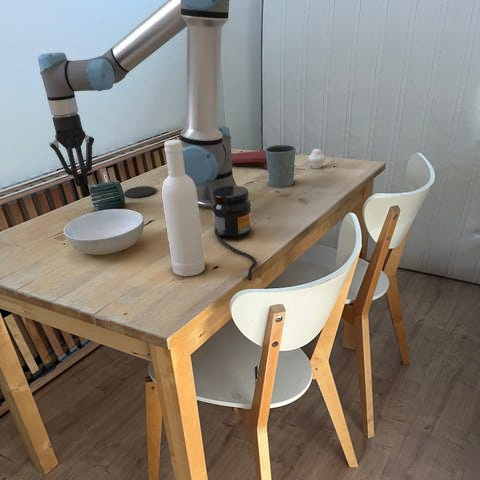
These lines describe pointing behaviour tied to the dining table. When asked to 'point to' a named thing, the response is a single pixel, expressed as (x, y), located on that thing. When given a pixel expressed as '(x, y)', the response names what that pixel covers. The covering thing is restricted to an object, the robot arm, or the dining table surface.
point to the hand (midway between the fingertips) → (84, 195)
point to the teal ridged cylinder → (104, 189)
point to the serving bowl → (104, 231)
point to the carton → (250, 157)
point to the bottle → (182, 214)
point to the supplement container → (231, 212)
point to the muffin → (316, 158)
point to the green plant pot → (280, 165)
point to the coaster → (140, 192)
